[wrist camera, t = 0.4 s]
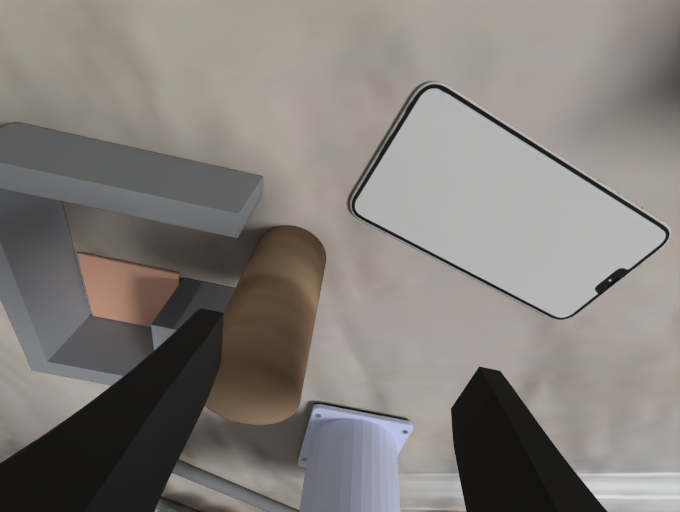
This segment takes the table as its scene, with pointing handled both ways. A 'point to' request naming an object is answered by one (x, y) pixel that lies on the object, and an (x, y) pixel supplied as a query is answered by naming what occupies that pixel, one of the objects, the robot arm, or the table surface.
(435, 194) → the smartphone
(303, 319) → the peg
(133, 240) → the table surface
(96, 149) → the channel
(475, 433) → the robot arm
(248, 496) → the newton's cradle
